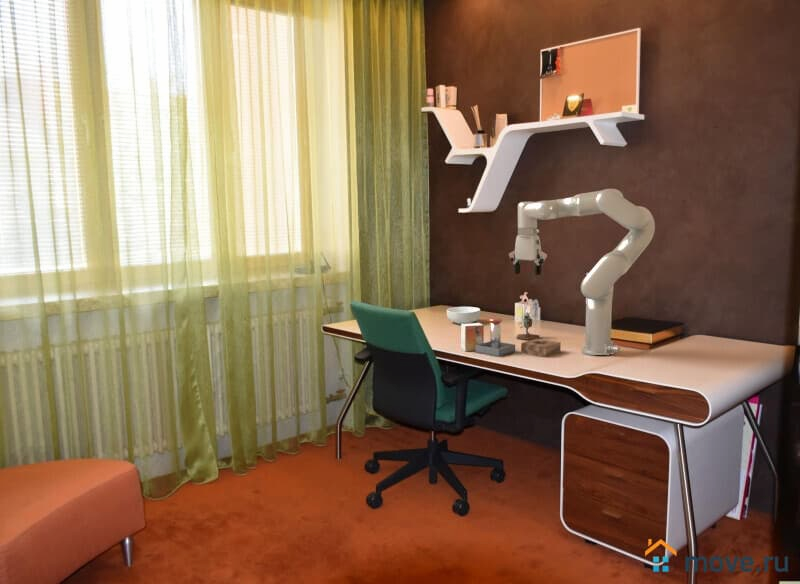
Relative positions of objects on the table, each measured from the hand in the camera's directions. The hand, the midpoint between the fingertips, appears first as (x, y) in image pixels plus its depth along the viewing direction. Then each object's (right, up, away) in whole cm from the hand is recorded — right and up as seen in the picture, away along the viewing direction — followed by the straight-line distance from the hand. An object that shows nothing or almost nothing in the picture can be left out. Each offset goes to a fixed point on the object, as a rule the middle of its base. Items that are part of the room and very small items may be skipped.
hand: (527, 274), depth 266 cm
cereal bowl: (-21, -23, +56) cm, 64 cm away
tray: (-14, -31, -7) cm, 35 cm away
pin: (-14, -31, -7) cm, 34 cm away
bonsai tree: (+4, -28, +19) cm, 34 cm away
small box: (-23, -31, -1) cm, 38 cm away
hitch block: (+4, -31, -8) cm, 32 cm away
